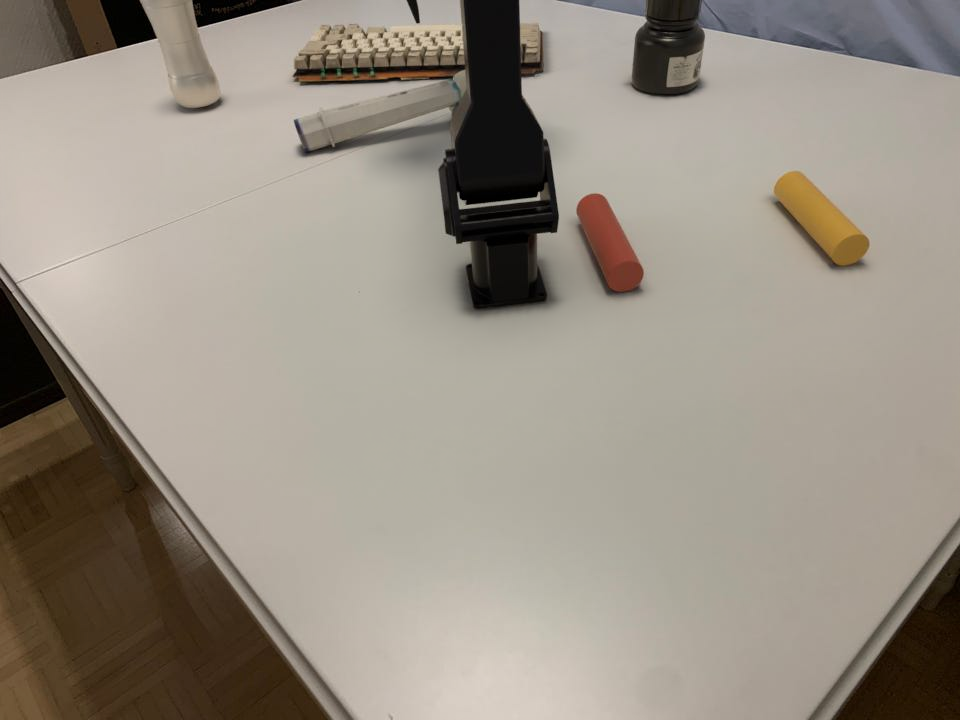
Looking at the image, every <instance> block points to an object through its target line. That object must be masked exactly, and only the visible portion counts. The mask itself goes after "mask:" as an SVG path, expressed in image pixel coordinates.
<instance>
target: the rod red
mask: <svg viewBox="0 0 960 720" xmlns="http://www.w3.org/2000/svg"><path fill="white" fill-rule="evenodd" d="M575 209H576V211H575V213H576V215H577V218H578V220H579V222H580V225H581V227H582V229H583V232H584V234H585V236H586V238H587V240H588V243H589V245H590V247H591V249H592V251H593V254H594V256H595V258H596V261H597V262H598V263H597V264H598V265H599V267H600V269H601V273H602V274H603V277H604V279H605V281H606V283H607V286H608V287H609V289H611V290H612V291H615V292H617V293H624V292H629V291H631V290H634V289H635V288H637V287H638V286H639V285H640V284H641V282H642V281H643V279H644V275H645V274H644V273H645V271H644V267H643V266H642V264H641V262H640V260H639V258H638V256H637V255H636V253H635V251H634V249H633V247H632V245H631V243H630V241H629V239H628V237H627V235H626V233H625V231H624V230H623V228H622V226H621V224H620V222H619V220H618V218H617V216H616V214H615V212H614V210H613V208H612V206H611V204H610V202H609V201H608V199H607V198H606V197H605V196H604V195H603V194H601V193H596V192H595V193H594V192H593V193H589V194H587V195H585V196H583V197H582V198H581V199H580V200H579V201H578V203H577V206H576V208H575Z"/></svg>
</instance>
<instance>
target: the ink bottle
mask: <svg viewBox="0 0 960 720" xmlns="http://www.w3.org/2000/svg"><path fill="white" fill-rule="evenodd" d="M702 3H703V0H646V1H645V12H644V13H645V15H644V18H645V20H646V21H645V22H644V23H643V25H642V26H640V27H639V28H638V29H637V31H636V33H635V36H634V44H633V59H632V68H631V69H632V70H631V84H632V85H633V87H635V88H636V89H638V90H640V91H642V92H646V93H650V94H656V95H657V94H658V95H679V94H683V93H687V92H689V91H691V90H692V89H694V88H695V87H696V86H697V85H698V84H699V80H700V75H701V68H702V61H703V56H704V55H703V54H704V47H705V41H706V34H705V31H704V29H703V28H702V27H701V26H700V25H699V24H700V23H698V22H697V21H698V20H699V18H700V14H701V10H702Z"/></svg>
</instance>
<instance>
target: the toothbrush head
mask: <svg viewBox="0 0 960 720" xmlns="http://www.w3.org/2000/svg"><path fill="white" fill-rule="evenodd" d="M465 90H466V75H465V70H463V71H460V72H458V73H457V74H455V76H452V78H451V79H446V80H442V81H438V82H435V83H429V84H426V85H422V86H417V87H414V88H410V89H406V90H402V91H401V90H400V91H398V92H393V93H389V94H385V95H380V96H377V97H372V98H369V99H368V98H367V99H365V100H360V101H357V102H356V101H355V102H352V103H348V104H344V105H340V106H336V107H331V108H328V109H323V108H322V107H319V111H317V112H314V113H310V114H308V115H304V116H300V117H298V118H294V119H293V124H294V127H295V130H296V133H297V135H298V136H297V137H298V138H299V141H300V143H301V146H302V148H303V150H304V152H305V153H309V152H310V153H311V152H313V151H316V150H319V149H322V148H325V147H329V146H331V147H332V148H336V144H339V143H340V142H344V141H347V140H350V139H353V138H357V137H360V136H364V135H366V134H369V133H372V132H375V131H378V130H382V129H385V128H388V127H391V126H394V125H397V124H400V123H404V122H407V121H410V120H412V119H416V118H419V117H422V116H426V115H428V114H431V113H435V112H438V111H441V110H444V109H447V108H448V109H449V110H450V112H451V113H452V111H453V108H454V106H455V104H456V103H459V102H460V100H461V98H462V96H463V94H464V92H465Z"/></svg>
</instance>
